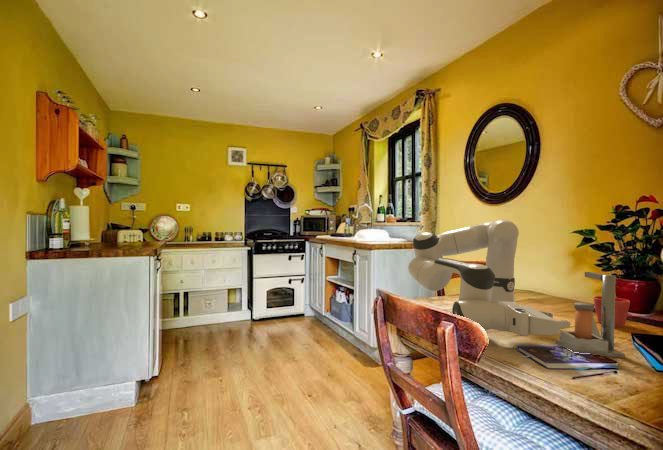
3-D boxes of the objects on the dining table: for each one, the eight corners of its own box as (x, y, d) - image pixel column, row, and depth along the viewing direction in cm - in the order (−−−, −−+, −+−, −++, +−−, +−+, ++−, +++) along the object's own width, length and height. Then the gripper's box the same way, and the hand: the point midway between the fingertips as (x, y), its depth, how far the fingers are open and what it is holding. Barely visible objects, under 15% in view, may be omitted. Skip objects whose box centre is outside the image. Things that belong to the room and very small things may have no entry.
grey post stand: (573, 354, 96) (576, 276, 96) (547, 337, 110) (549, 269, 111) (625, 357, 94) (627, 278, 94) (591, 340, 109) (593, 271, 109)
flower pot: (586, 319, 135) (587, 294, 136) (618, 321, 133) (619, 296, 133) (602, 326, 125) (603, 300, 125) (636, 329, 123) (637, 302, 123)
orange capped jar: (568, 343, 101) (570, 302, 101) (579, 342, 103) (580, 302, 103) (586, 349, 97) (587, 306, 97) (596, 347, 99) (598, 305, 99)
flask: (605, 339, 110) (606, 308, 110) (580, 337, 112) (581, 306, 112) (593, 332, 117) (594, 303, 117) (569, 330, 119) (570, 302, 119)
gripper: (497, 318, 112) (542, 321, 111) (524, 337, 92) (579, 341, 90) (498, 299, 113) (543, 301, 111) (525, 314, 92) (580, 318, 90)
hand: (559, 319), depth 100 cm, fingers open, 8 cm apart
